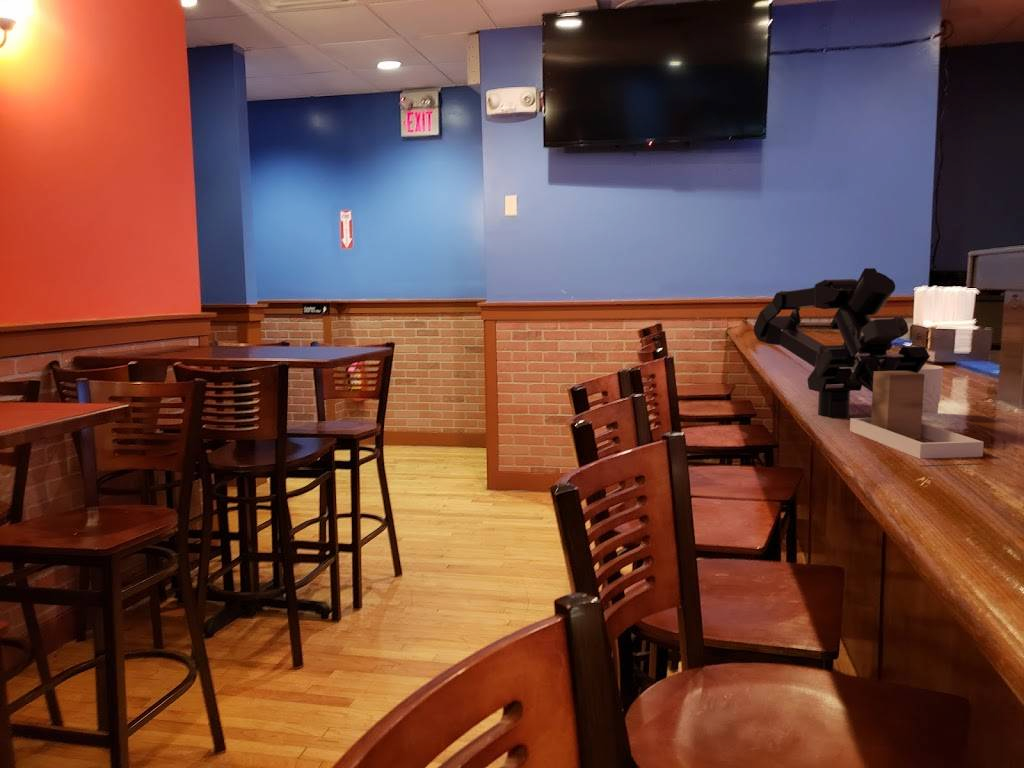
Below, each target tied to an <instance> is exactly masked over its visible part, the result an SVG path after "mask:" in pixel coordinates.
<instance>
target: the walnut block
mask: <svg viewBox="0 0 1024 768" xmlns="http://www.w3.org/2000/svg"><path fill="white" fill-rule="evenodd" d="M924 375H925V374H921V373H916V372H912V371H874V376H873V392H872V397H871V416H870V418H871V424H872V425H875V426H878V427H880V428H883V429H886V430H889V431H892V432H894V433H897V434H900V435H903V436H905V437H908V438H911V439H914V440H921V438H922V437H921V424H922V423H923V412H922V408H923V391H924Z"/></svg>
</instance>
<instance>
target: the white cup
mask: <svg viewBox="0 0 1024 768" xmlns="http://www.w3.org/2000/svg"><path fill="white" fill-rule="evenodd" d="M918 373H921V374H925V375H924V391H923V408H922V413H935V414H938V413H939V404H940V402H941V401H940V400H941V393H942V387H943V376H944V367H943V366H940V365H934V364H924V365H923V367H922V368H921V369H920V371H919V372H918Z"/></svg>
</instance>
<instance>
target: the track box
mask: <svg viewBox="0 0 1024 768" xmlns="http://www.w3.org/2000/svg"><path fill="white" fill-rule="evenodd" d="M849 432H852V433H855V434H857V435H860V436H862V437H864V438H866V439H870V440H872V441H875V442H877V443H880V444H882V445H885V446H887V447H890V448H892V449H895V450H898V451H900V452H902V453H905V454H908V455H911V456H913V457H915V458H918V459H920V460H921V459H922V460H923V459H943V458H945V459H946V458H947V459H948V458H949V459H950V458H975V457H976V458H977V457H978V458H979V457H980V458H981V457H983V456H984V442H985V441H982V440H979V439H975V438H972V437H969V436H966V435H963V434H960V433H958V432H957V433H956V432H953V431H950V430H947V429H943V428H941V427H938V426H934V425H932V424H929V423H925V422H922V424H921V438H924V439H926V440H930V441H932V442H922V441H919V440H917V439H911V438H908V437H905V436H903V435H900V434H897V433H894V432H892V431H889V430H886V429H883V428H880V427H878V426H875V425H872V424H871V417H854V418H853V417H851V418H849ZM972 465H973V466H974V465H975V466H977V465H983V463H979V462H978V463H959V464H958V463H957V464H956V463H954V464H953V463H952V464H928V465H926V464H925V465H920V466H921V467H945V466H947V467H948V466H950V467H951V466H972ZM921 467H920V468H921Z"/></svg>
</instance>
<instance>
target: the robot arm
mask: <svg viewBox="0 0 1024 768" xmlns="http://www.w3.org/2000/svg"><path fill="white" fill-rule="evenodd" d="M895 290H896V284H895V281H894V280H893V279H892V278H890V277H888V276H887V275H886V274H884V273H881V272H878V271H877V269H876V268H873V267H868V268H866V267H865V268H863V270H862V273H861V274H860V277H859V278H858V279H854V278H845V279H835V278H834V279H823V280H821V281H819V282H817V283H815V284H814V286H813V287H810V288H803V289H796V290H785V291H784V290H782V291H779V292H775V295H774V296H773V299H772V301H770V303H768V304H767V305H766V306H765V307H764V308H763V309H762V310H760V312H759V313H758V316H757V318H756V320H755V323H754V326H753V333H754V335H755V338H756V340H757V341H758V342H760V343H763V344H767V345H775V346H780V347H781V348H784V349H785V350H786V351H789V352H790V353H791V354H793V355H795V356H796V357H798V358H799V359H801V360H803V361H804V362H806V363H807V364H808V365H809V366H812V367H813V368H814V369H813V371H812V372H811V373H810V374H809V376H808V378H807V380H806V381H807V385H808V390H811V391H814V392H818V400H817V401H818V402H817V403H818V404H817V416H821V417H823V418H824V417H825V418H830V419H847V418H848V417H849V416H850V401H851V391H856V392H857V391H858V392H861V390H862V387H864V388H866V389H867V390H868V391H870V392H871V393H873V376H874V371H912V372H916V373H918V372H919V371H920V369H921V368H922V367H923V365H926V362H928V360H929V359H930V358H931V356H930V354H929V352H928V350H927V349H926V347H925V346H922V345H921V346H920V345H918V346H917V345H915V346H911V345H910V346H902V347H901V348H900V349H899V351H898V353H887V351H890V350H891V349H892V347H893V345H892V342H893V341H895V340H897V339H900V338H902V337H904V336H905V335H907V334H908V332H909V326H908V323H907V321H906V320H905V318H904V317H903V316H900V317H898V316H897V317H895V316H894V317H893V318H877V319H873V320H872V319H871V316H873V315H874V316H875V315H877V314H879V312H880V311H881V310H882V308H883V307H884V305H885V304H886V303H887V302H888V300H889V298H890V297H891V296H892V294H893V293H894V292H895ZM812 307H813V308H814V307H815V308H816V309H820V310H821V309H822V310H837V311H836V312H835V314H834V315H833V318H832V320H831V322H830V324H829V325H830V326H829V328H830V329H831V330H839V333H840V335H841V337H842V340H843V344H838V345H836V344H833V345H825V344H823V343H821V342H820V341H818V340H817V339H814V338H813V337H811V336H809V335H808V334H806V333H805V332H803V331H801V330H799V329H798V328H799V325H800V324H801V320H802V319H801V316H800V310H801V309H802V308H812ZM784 310H785V311H787V310H789V311H791V313H790V315H779V314H780V313H781V312H782V311H784ZM812 416H813V417H814V414H812Z"/></svg>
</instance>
